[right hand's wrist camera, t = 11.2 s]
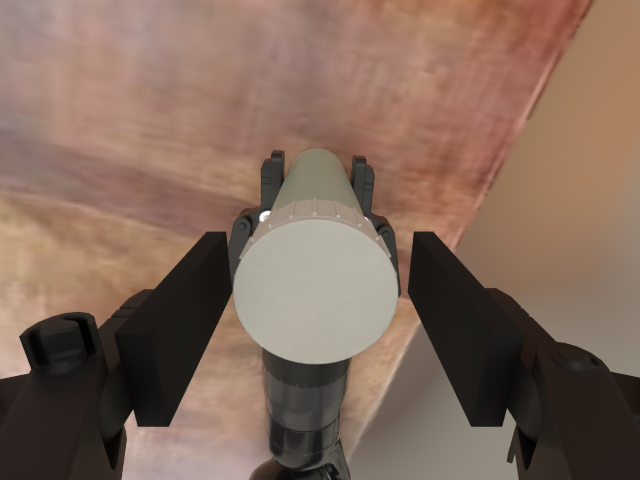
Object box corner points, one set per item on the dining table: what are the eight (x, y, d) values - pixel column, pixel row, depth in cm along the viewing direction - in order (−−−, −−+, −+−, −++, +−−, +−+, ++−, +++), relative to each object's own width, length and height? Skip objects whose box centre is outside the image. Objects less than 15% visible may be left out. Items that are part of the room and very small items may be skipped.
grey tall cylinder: (296, 141, 29) (258, 205, 10) (351, 156, 29) (409, 244, 11) (283, 195, 30) (231, 334, 12) (336, 209, 31) (362, 362, 13)
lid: (261, 179, 12) (247, 196, 10) (407, 217, 13) (426, 242, 10) (233, 308, 14) (217, 347, 12) (361, 336, 15) (370, 379, 12)
